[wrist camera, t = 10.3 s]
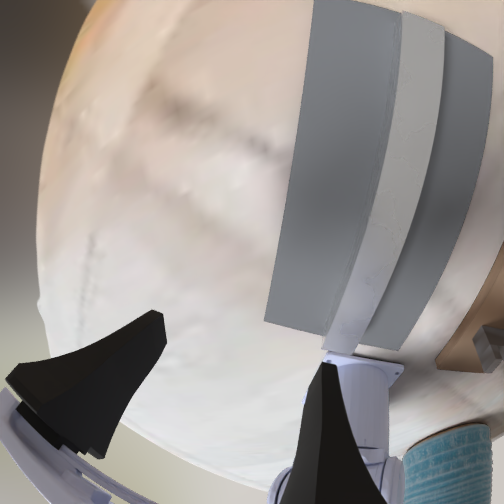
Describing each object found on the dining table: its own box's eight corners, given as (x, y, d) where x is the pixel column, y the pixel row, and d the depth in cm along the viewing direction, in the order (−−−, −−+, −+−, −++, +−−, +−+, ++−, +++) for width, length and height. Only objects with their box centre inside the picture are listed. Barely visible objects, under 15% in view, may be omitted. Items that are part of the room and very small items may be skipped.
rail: (352, 333, 20) (351, 355, 18) (323, 326, 20) (321, 348, 18) (430, 37, 9) (444, 26, 7) (393, 23, 9) (402, 10, 7)
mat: (397, 345, 20) (398, 350, 19) (265, 316, 22) (263, 321, 22) (488, 58, 8) (492, 57, 7) (315, -2, 10) (314, -6, 10)
